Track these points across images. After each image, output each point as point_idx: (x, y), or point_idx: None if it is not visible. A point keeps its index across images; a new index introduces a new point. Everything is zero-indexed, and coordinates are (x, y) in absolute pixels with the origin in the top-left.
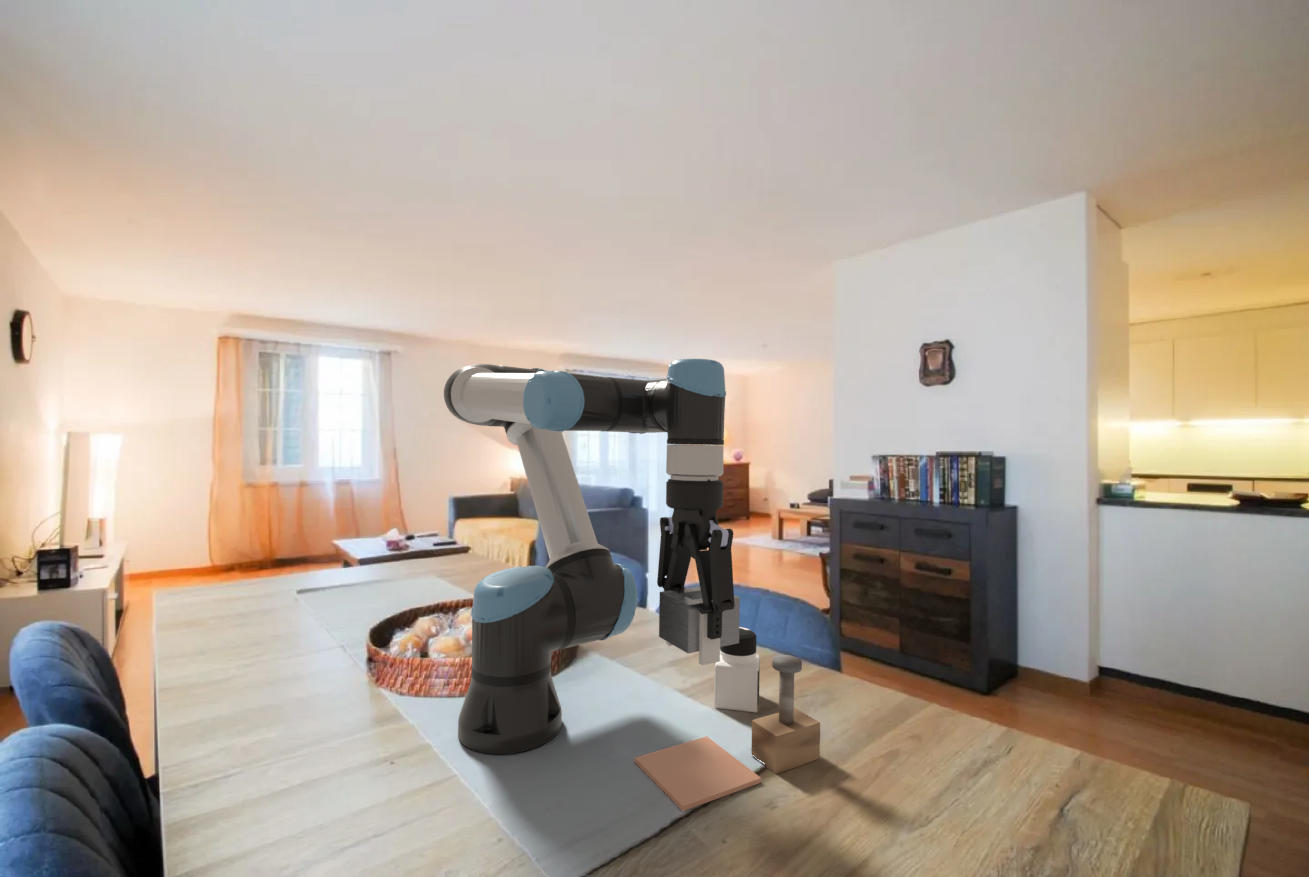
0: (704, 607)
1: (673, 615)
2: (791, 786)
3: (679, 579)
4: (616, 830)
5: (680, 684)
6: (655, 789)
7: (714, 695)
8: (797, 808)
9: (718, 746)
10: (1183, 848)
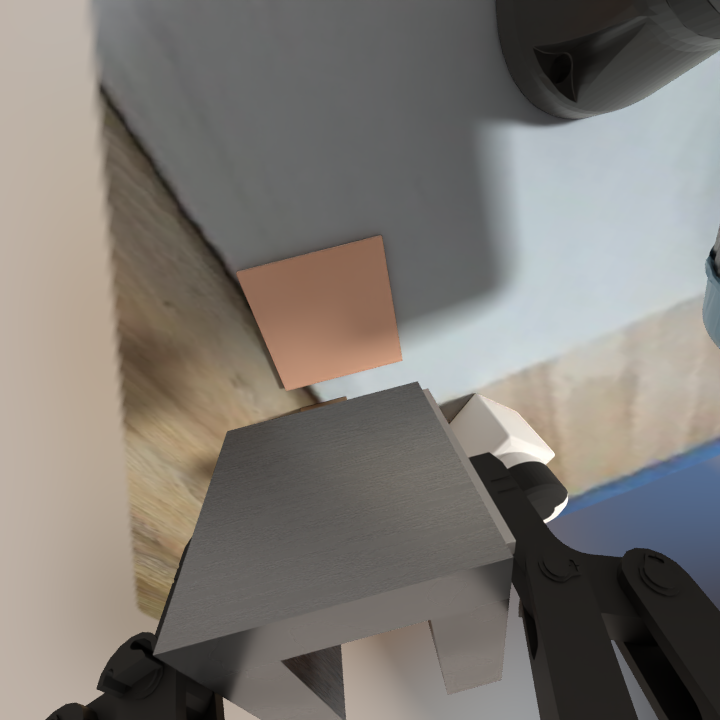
0: (168, 671)
1: (328, 500)
2: (273, 414)
3: (542, 701)
4: (197, 146)
5: (563, 370)
6: (298, 247)
7: (485, 403)
8: (229, 405)
9: (371, 366)
10: (157, 604)
